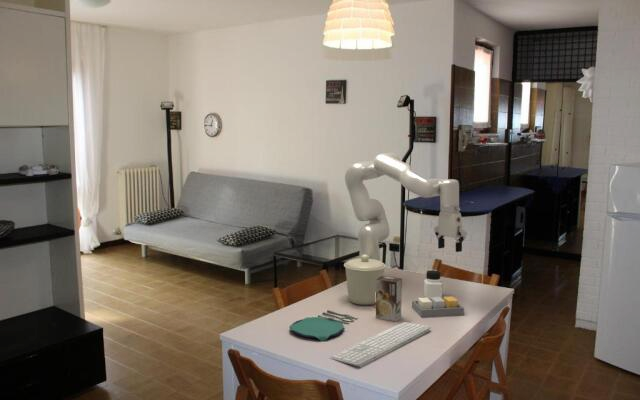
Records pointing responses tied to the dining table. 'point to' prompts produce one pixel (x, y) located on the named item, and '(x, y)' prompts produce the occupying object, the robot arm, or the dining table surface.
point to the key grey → (438, 302)
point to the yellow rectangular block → (450, 302)
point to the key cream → (425, 303)
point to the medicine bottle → (433, 284)
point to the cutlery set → (320, 326)
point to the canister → (363, 279)
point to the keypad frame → (437, 311)
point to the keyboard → (380, 344)
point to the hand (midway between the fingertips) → (449, 249)
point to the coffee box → (388, 298)
